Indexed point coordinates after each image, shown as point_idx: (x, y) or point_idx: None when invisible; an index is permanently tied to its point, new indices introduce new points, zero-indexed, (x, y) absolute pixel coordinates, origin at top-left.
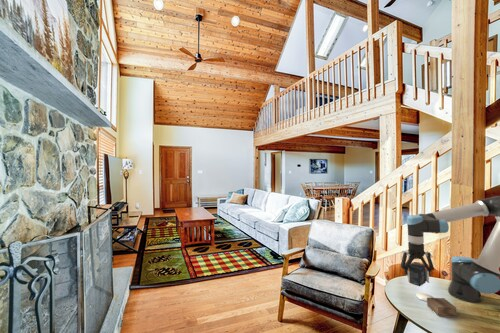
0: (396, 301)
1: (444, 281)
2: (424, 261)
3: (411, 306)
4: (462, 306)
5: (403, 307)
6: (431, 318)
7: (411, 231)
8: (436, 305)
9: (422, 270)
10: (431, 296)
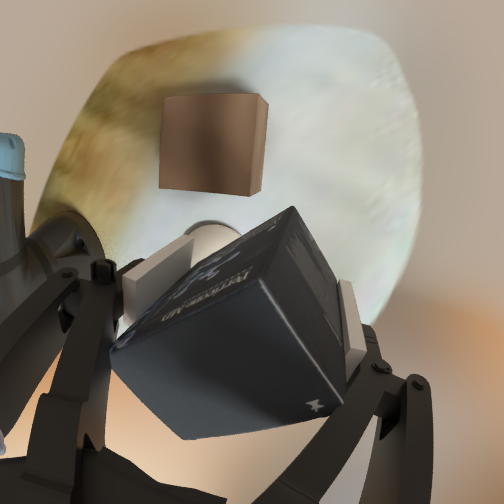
0: (394, 248)
1: None
2: (69, 376)
3: (350, 194)
4: (114, 185)
5: (398, 191)
6: (319, 87)
7: None
8: (256, 108)
9: (186, 294)
10: None
